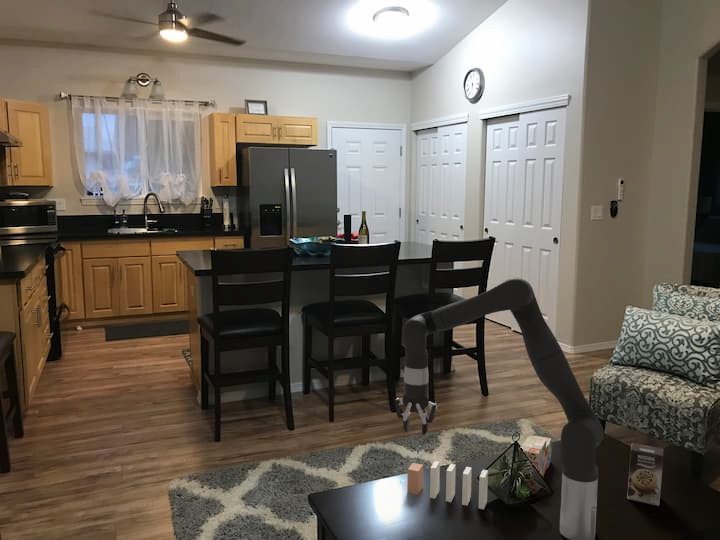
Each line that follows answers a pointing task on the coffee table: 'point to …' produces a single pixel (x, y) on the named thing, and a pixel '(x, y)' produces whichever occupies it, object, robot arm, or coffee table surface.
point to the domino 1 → (415, 478)
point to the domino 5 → (483, 488)
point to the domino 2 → (434, 479)
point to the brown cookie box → (645, 474)
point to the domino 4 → (466, 486)
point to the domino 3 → (450, 482)
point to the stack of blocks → (538, 452)
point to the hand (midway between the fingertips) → (415, 432)
